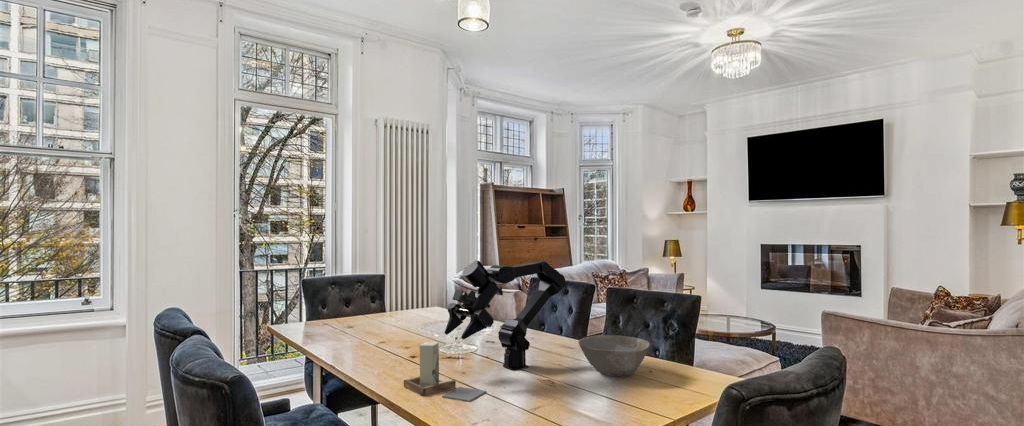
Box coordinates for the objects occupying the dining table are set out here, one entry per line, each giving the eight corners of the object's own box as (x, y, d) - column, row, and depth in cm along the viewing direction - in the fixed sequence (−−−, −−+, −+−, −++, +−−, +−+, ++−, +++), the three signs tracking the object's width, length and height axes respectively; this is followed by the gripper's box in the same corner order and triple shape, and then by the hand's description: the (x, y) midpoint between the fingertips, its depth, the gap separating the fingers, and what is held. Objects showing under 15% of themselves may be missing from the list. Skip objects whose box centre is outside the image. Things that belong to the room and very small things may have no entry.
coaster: (459, 388, 153) (459, 386, 153) (486, 392, 148) (486, 390, 148) (442, 397, 145) (442, 395, 145) (469, 402, 140) (469, 400, 140)
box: (433, 390, 151) (433, 345, 151) (419, 389, 151) (418, 345, 152) (439, 385, 156) (439, 341, 156) (425, 384, 157) (425, 341, 157)
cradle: (435, 379, 161) (435, 373, 161) (455, 387, 153) (455, 381, 153) (403, 386, 154) (403, 380, 154) (422, 396, 146) (422, 388, 146)
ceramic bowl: (622, 389, 150) (622, 354, 150) (564, 372, 167) (563, 341, 168) (665, 374, 165) (665, 342, 165) (607, 360, 182) (607, 331, 182)
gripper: (451, 278, 171) (421, 315, 163) (486, 282, 156) (454, 323, 149) (471, 300, 175) (443, 337, 168) (506, 306, 161) (477, 347, 154)
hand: (453, 336), depth 159 cm, fingers open, 9 cm apart
